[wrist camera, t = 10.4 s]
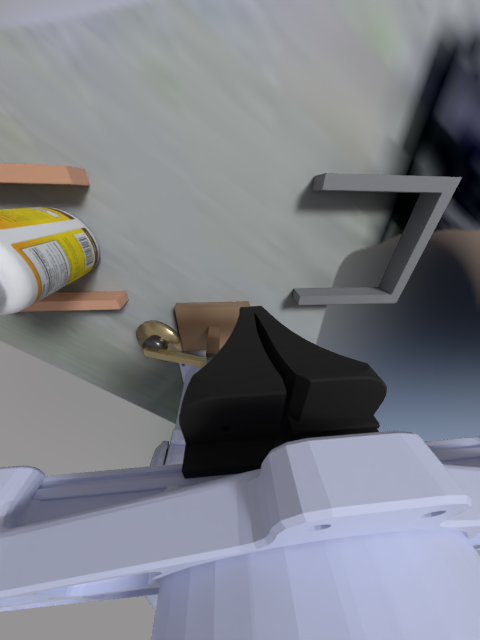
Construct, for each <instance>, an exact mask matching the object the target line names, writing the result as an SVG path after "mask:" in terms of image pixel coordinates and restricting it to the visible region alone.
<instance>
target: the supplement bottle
mask: <svg viewBox="0 0 480 640" xmlns="http://www.w3.org/2000/svg"><path fill="white" fill-rule="evenodd" d="M98 261H99V247H98V244H97V241H96V239H95V238H94V236H93V234H92V233H91V231H90V230H89V229H88V228H87V227H86V226H85V225H84V224H83V223H82V222H81V221H80V220H78V219H77V218H76V217H74V216H73V215H71V214H69V213H67V212H65V211H62V210H59V209H56V208H51V207H32V208H17V209H0V315H7V314H13V313H17V312H19V311H22V310H24V309H26V308H28V307H30V306H32V305H33V304H35V303H37V302H38V301H40V300H42V299H43V298H45V297H47V296H49V295H50V294H52V293H54V292H56V291H57V290H59V289H61V288H63V287H64V286H66V285H68V284H70V283H71V282H73V281H75V280H77V279H78V278H80V277H82V276H84V275H85V274H87V273H89V272H90V271H92V270H93V269H94V268H95V267H96V265H97V263H98Z"/></svg>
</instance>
